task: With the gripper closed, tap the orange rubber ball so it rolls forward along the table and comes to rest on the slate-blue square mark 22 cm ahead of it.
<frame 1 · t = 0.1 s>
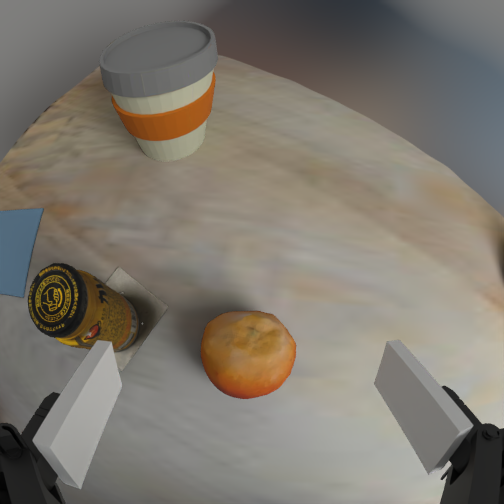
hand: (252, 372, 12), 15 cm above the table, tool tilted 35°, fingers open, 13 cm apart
condiment: (120, 318, 28), on the table
fruit: (244, 354, 27), on the table
reusable coffee cup: (172, 137, 36), on the table
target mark: (3, 250, 28), on the table
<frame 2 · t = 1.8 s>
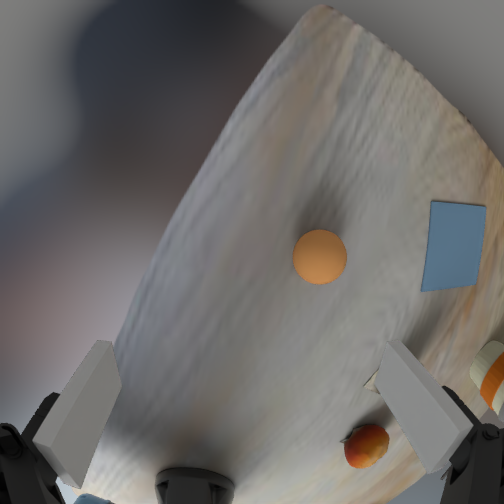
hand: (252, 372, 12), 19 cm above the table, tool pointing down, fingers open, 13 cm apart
ball: (319, 256, 29), on the table
fruit: (360, 433, 41), on the table
reusable coffee cup: (484, 359, 40), on the table
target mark: (457, 246, 33), on the table
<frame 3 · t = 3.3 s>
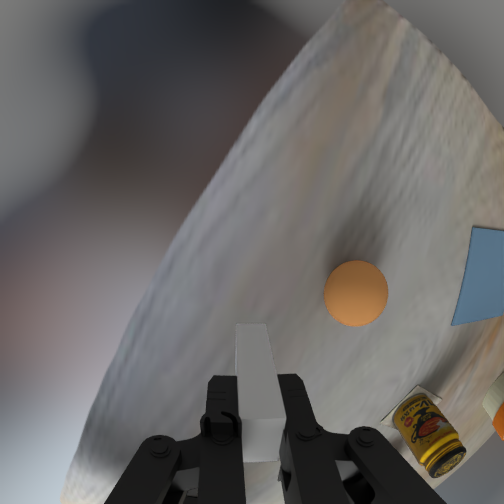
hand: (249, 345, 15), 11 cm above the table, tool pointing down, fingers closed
ball: (356, 293, 23), on the table
condiment: (411, 409, 32), on the table
reusable coffee cup: (497, 388, 35), on the table
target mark: (490, 276, 27), on the table
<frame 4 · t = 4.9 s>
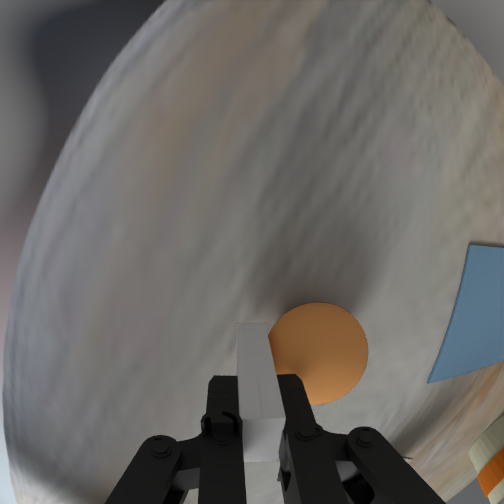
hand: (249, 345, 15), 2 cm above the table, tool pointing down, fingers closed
ball: (316, 353, 14), on the table
reusable coffee cup: (489, 434, 26), on the table
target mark: (492, 314, 18), on the table
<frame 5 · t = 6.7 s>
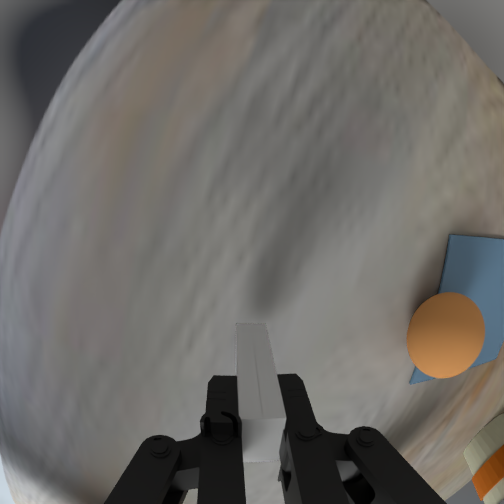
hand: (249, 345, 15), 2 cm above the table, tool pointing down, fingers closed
ball: (446, 335, 15), on the table
reusable coffee cup: (485, 434, 25), on the table
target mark: (480, 310, 18), on the table
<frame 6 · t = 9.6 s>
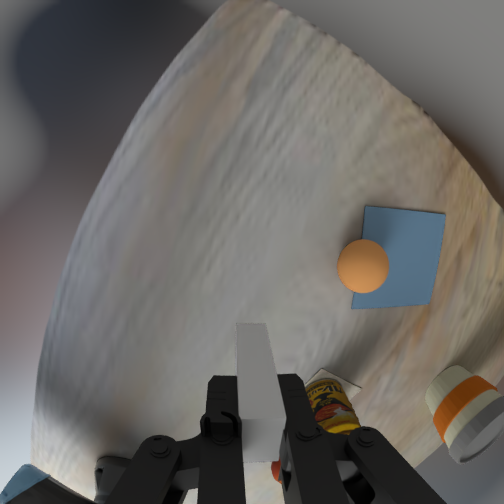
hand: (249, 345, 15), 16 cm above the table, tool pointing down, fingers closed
ball: (363, 266, 28), on the table
condiment: (324, 395, 37), on the table
fruit: (292, 449, 40), on the table
reusable coffee cup: (444, 384, 39), on the table
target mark: (402, 260, 32), on the table
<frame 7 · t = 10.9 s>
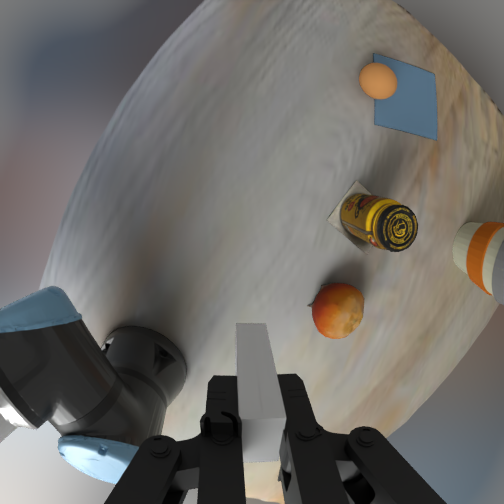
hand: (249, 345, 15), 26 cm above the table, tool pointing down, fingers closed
ball: (378, 80, 32), on the table
condiment: (361, 217, 40), on the table
fruit: (331, 300, 44), on the table
reusable coffee cup: (467, 245, 43), on the table
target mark: (407, 96, 35), on the table
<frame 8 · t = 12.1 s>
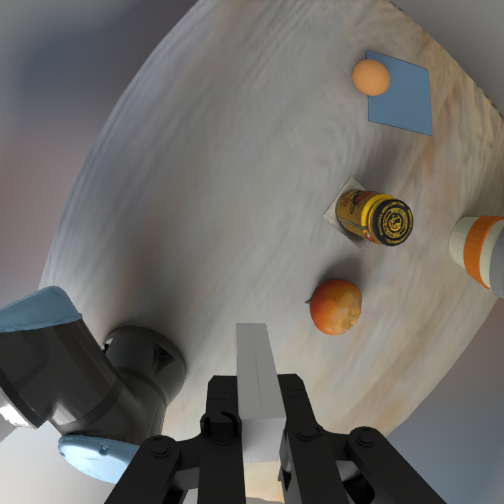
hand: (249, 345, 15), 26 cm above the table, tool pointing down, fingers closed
ball: (371, 77, 33), on the table
condiment: (357, 213, 41), on the table
fruit: (329, 297, 44), on the table
reusable coffee cup: (464, 240, 43), on the table
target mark: (400, 92, 36), on the table
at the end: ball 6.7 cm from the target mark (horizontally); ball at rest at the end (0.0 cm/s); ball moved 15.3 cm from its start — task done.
